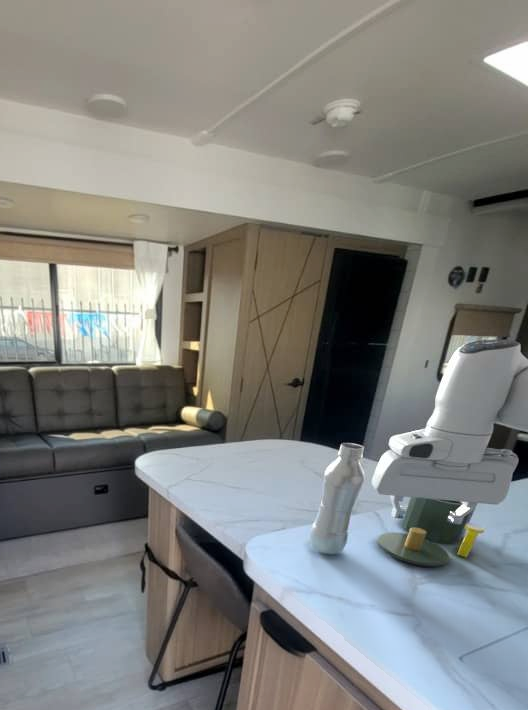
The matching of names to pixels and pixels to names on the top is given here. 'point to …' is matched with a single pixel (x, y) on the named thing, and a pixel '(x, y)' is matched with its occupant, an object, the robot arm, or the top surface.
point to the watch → (469, 538)
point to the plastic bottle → (338, 500)
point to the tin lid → (413, 548)
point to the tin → (435, 519)
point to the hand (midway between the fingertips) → (424, 519)
